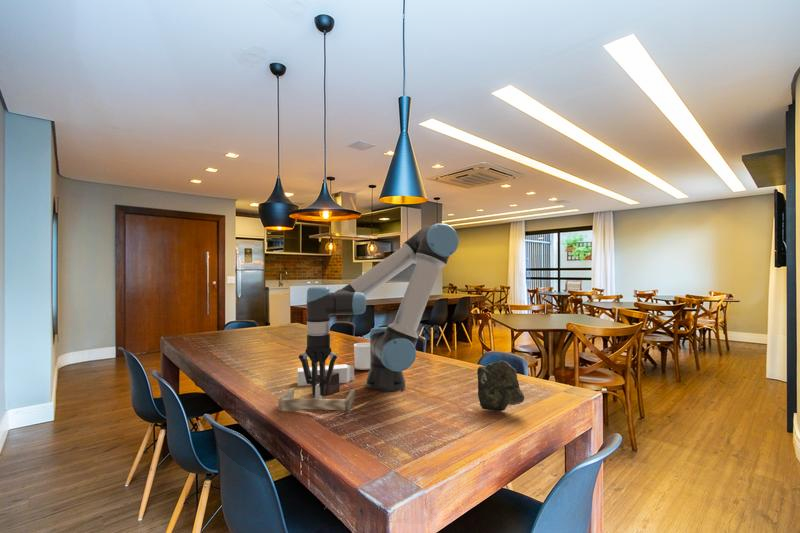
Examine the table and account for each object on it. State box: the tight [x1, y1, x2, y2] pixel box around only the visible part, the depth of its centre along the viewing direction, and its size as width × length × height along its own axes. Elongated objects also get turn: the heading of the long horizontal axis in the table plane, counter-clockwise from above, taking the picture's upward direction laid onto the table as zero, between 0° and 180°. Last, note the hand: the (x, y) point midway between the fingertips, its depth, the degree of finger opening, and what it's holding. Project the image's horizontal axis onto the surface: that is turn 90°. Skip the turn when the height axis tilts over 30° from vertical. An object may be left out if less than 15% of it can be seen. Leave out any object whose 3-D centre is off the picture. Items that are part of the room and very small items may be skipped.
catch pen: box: [277, 387, 356, 414], centre depth 126 cm, size 22×11×4 cm, turn 86°
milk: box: [297, 363, 355, 387], centre depth 152 cm, size 6×6×22 cm
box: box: [317, 371, 340, 396], centre depth 139 cm, size 6×6×7 cm
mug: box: [353, 342, 370, 371], centre depth 174 cm, size 11×9×10 cm
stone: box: [477, 359, 525, 412], centre depth 122 cm, size 15×10×15 cm
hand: (318, 404), depth 127 cm, fingers closed
